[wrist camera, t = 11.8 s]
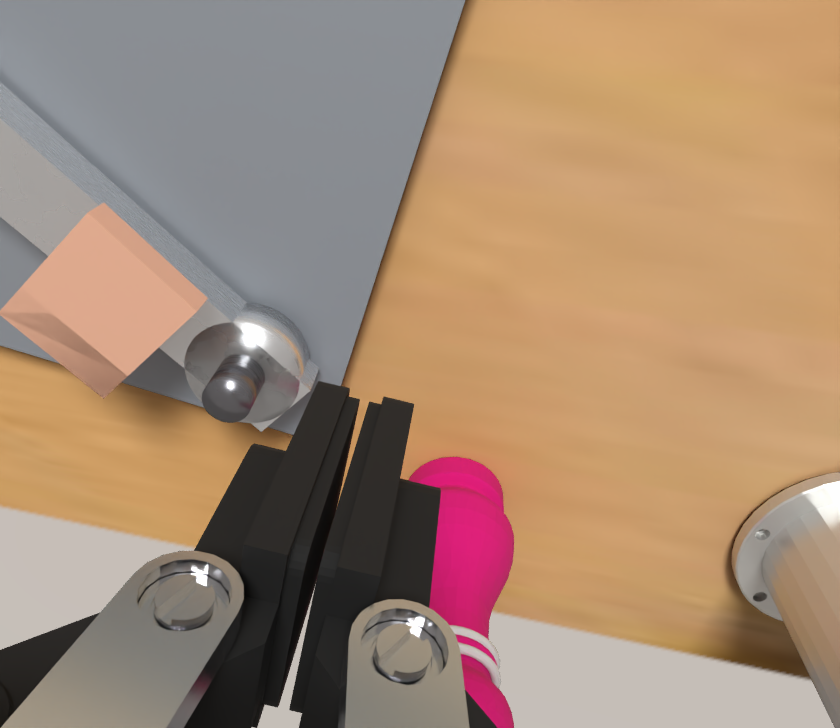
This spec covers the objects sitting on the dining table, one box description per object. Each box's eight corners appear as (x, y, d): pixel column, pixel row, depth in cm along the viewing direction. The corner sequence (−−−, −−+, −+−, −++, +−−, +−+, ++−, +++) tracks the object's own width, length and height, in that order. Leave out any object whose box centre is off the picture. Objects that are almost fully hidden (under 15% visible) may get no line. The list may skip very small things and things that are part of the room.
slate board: (494, -89, 29) (495, -93, 27) (326, 429, 42) (322, 443, 41) (-150, -345, 26) (-183, -362, 25) (-107, 295, 39) (-127, 306, 38)
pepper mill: (417, 545, 46) (385, 886, 29) (382, 462, 43) (321, 790, 26) (522, 525, 45) (554, 871, 27) (493, 437, 42) (509, 768, 24)
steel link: (331, 357, 37) (313, 407, 33) (261, 417, 40) (235, 471, 35) (-71, -10, 30) (-165, -7, 25) (-130, 91, 32) (-225, 109, 28)
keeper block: (241, 257, 37) (196, 311, 31) (159, 334, 40) (103, 398, 34) (153, 172, 35) (87, 212, 29) (73, 259, 38) (-3, 313, 32)
